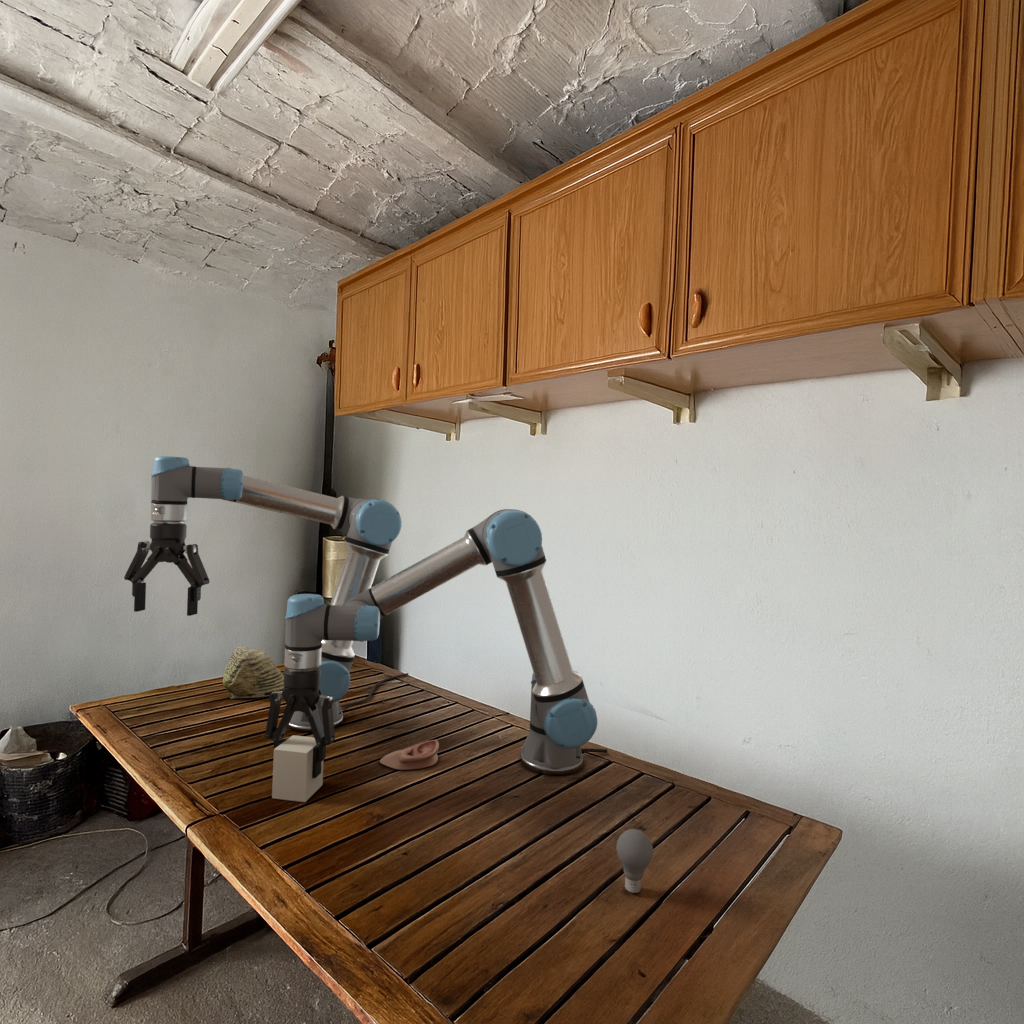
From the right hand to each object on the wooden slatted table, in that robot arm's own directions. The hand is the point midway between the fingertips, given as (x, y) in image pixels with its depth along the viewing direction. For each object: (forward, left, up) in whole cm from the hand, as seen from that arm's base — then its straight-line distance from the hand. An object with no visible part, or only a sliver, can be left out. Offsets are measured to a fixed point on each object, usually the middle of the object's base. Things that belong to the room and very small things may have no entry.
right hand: (298, 773), depth 136 cm
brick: (0, 0, -4) cm, 4 cm away
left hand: (+30, -26, +30) cm, 50 cm away
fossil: (+11, -71, -4) cm, 71 cm away
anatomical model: (-26, -9, -4) cm, 28 cm away
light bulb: (-51, +51, -4) cm, 73 cm away
